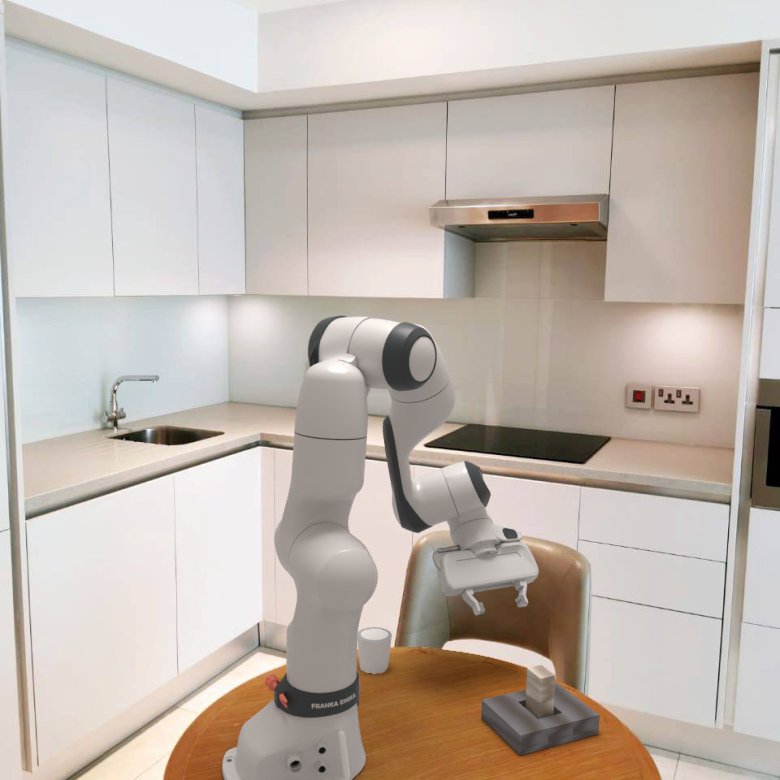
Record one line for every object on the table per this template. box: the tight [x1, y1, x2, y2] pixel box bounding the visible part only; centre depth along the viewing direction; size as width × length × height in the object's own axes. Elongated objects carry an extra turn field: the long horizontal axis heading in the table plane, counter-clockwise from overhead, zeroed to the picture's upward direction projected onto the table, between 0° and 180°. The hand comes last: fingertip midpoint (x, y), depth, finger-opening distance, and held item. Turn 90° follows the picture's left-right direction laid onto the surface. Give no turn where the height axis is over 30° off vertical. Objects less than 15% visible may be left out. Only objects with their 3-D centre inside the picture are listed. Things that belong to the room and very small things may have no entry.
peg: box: [525, 664, 556, 719], centre depth 135 cm, size 3×4×9 cm
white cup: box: [357, 626, 393, 675], centre depth 155 cm, size 7×7×7 cm
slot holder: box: [480, 681, 601, 756], centre depth 135 cm, size 16×12×4 cm
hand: (502, 609), depth 145 cm, fingers open, 8 cm apart
